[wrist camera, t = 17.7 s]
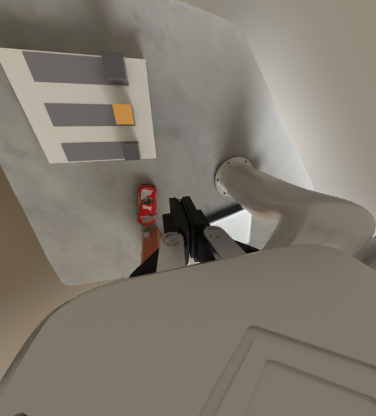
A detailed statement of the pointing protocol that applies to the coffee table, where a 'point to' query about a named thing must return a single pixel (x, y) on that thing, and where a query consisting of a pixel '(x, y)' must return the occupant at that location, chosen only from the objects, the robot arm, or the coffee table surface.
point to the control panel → (150, 243)
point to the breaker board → (82, 103)
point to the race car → (147, 204)
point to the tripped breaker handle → (123, 113)
